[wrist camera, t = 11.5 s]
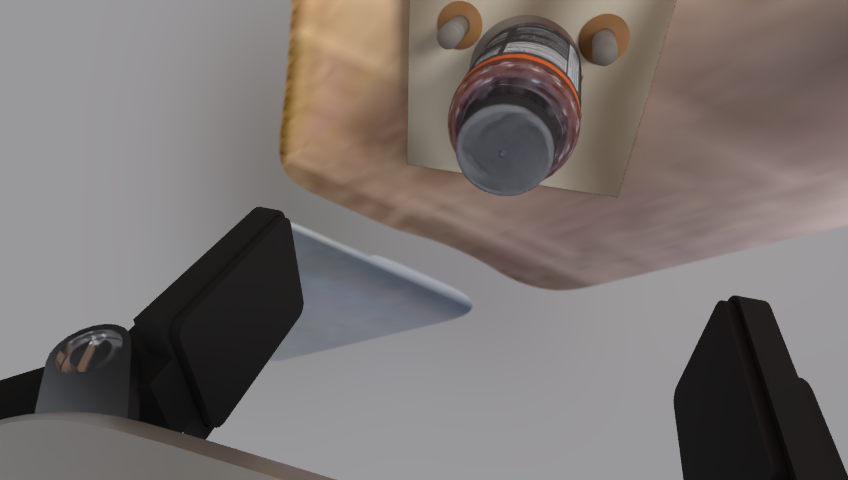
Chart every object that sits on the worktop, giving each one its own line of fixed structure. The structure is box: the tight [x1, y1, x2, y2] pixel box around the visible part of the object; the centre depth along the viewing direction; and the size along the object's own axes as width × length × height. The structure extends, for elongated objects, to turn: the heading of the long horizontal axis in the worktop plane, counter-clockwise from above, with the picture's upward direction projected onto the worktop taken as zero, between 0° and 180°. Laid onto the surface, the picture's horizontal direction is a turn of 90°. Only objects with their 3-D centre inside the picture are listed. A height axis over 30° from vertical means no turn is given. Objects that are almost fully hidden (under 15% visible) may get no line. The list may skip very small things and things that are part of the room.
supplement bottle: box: [448, 22, 583, 196], centre depth 24 cm, size 6×6×11 cm
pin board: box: [407, 0, 676, 197], centre depth 28 cm, size 14×14×4 cm
